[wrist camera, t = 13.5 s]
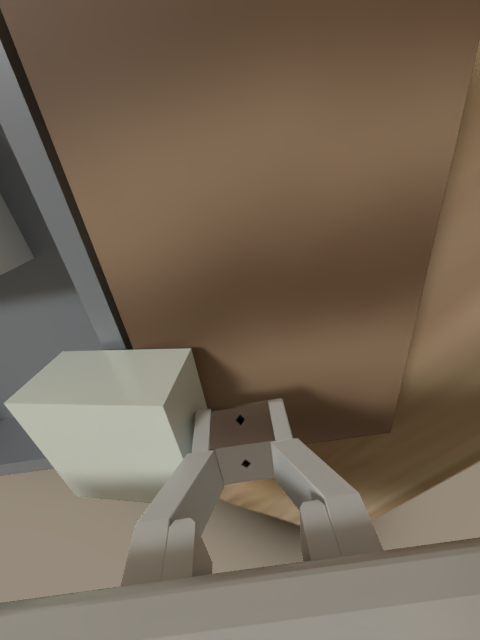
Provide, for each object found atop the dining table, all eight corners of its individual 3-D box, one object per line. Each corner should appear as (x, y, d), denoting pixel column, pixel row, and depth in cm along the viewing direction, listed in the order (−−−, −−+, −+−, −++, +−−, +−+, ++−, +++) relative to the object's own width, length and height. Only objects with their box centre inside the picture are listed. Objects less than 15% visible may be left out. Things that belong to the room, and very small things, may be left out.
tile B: (62, 351, 10) (3, 403, 8) (191, 348, 9) (162, 406, 7) (111, 439, 13) (76, 496, 10) (216, 443, 12) (201, 507, 10)
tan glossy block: (70, 19, 8) (-36, -85, 5) (397, -29, 8) (527, -169, 5) (186, 397, 16) (177, 461, 13) (353, 375, 16) (390, 432, 13)
